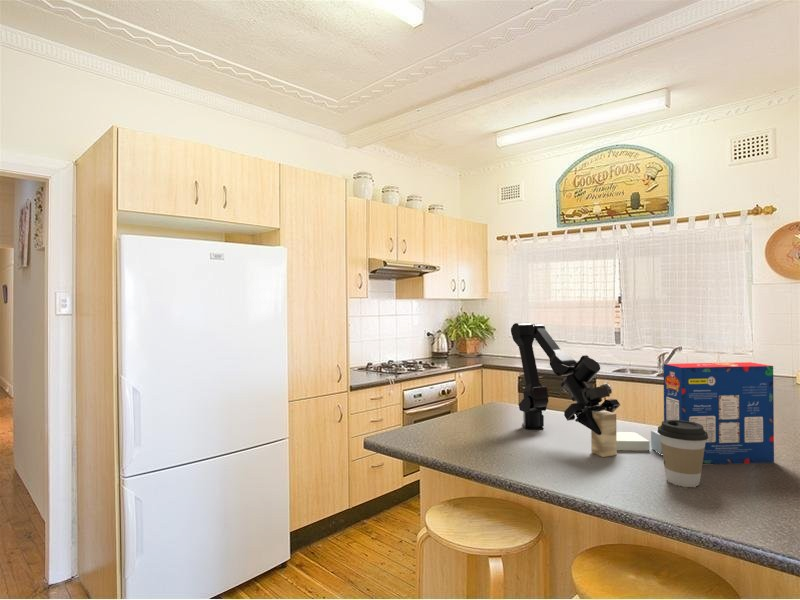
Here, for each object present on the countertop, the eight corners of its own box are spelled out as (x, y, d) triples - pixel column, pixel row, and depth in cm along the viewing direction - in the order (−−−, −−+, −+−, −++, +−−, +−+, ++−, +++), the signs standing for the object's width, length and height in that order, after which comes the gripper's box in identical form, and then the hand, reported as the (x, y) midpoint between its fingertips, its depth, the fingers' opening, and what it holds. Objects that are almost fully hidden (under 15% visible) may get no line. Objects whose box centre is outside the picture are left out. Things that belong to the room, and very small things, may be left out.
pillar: (591, 452, 144) (591, 412, 144) (604, 450, 146) (604, 410, 146) (603, 457, 140) (602, 415, 140) (616, 454, 142) (616, 413, 142)
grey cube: (661, 455, 141) (661, 435, 141) (651, 449, 147) (651, 430, 147) (681, 455, 141) (681, 435, 141) (670, 449, 147) (670, 430, 147)
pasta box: (751, 453, 143) (750, 362, 143) (774, 462, 135) (773, 365, 135) (664, 456, 141) (663, 363, 141) (682, 465, 133) (681, 367, 133)
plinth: (617, 452, 146) (617, 441, 146) (604, 442, 156) (604, 432, 156) (649, 452, 145) (649, 441, 145) (634, 442, 155) (634, 432, 155)
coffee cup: (662, 471, 128) (661, 416, 128) (711, 480, 121) (711, 423, 121) (653, 483, 120) (652, 425, 120) (706, 495, 112) (705, 432, 112)
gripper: (570, 377, 143) (599, 422, 133) (615, 373, 150) (645, 415, 140) (552, 398, 150) (578, 442, 140) (596, 393, 157) (623, 434, 147)
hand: (607, 433), depth 142 cm, fingers closed on pillar, 5 cm apart
